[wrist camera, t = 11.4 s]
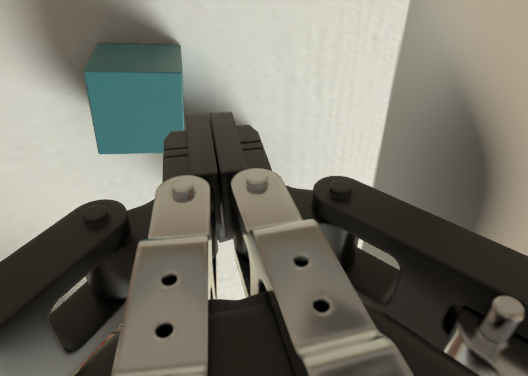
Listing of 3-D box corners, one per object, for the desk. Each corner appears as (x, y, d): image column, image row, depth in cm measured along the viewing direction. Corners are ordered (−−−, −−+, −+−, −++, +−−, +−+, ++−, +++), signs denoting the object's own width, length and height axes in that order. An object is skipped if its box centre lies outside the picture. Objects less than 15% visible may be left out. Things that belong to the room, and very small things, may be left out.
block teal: (97, 42, 22) (82, 71, 18) (180, 44, 23) (182, 72, 19) (109, 117, 24) (98, 154, 21) (183, 116, 25) (185, 152, 22)
